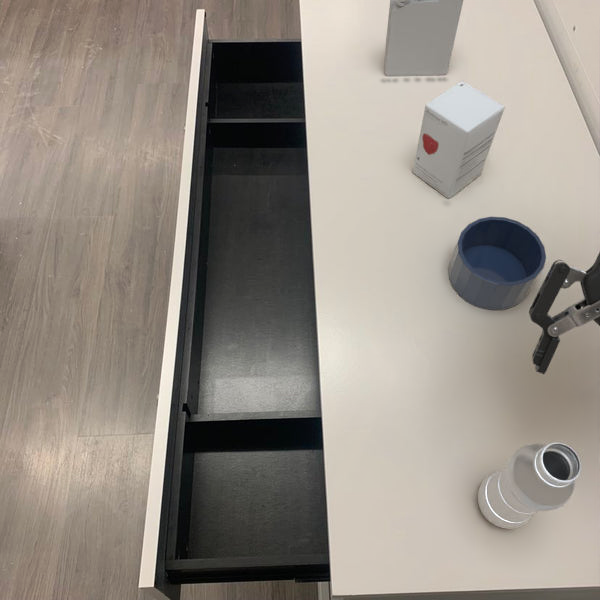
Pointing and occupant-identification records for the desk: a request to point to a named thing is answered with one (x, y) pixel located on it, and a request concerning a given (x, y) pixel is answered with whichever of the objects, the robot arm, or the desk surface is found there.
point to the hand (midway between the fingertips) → (585, 388)
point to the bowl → (496, 263)
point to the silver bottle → (529, 484)
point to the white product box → (456, 138)
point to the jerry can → (420, 36)
